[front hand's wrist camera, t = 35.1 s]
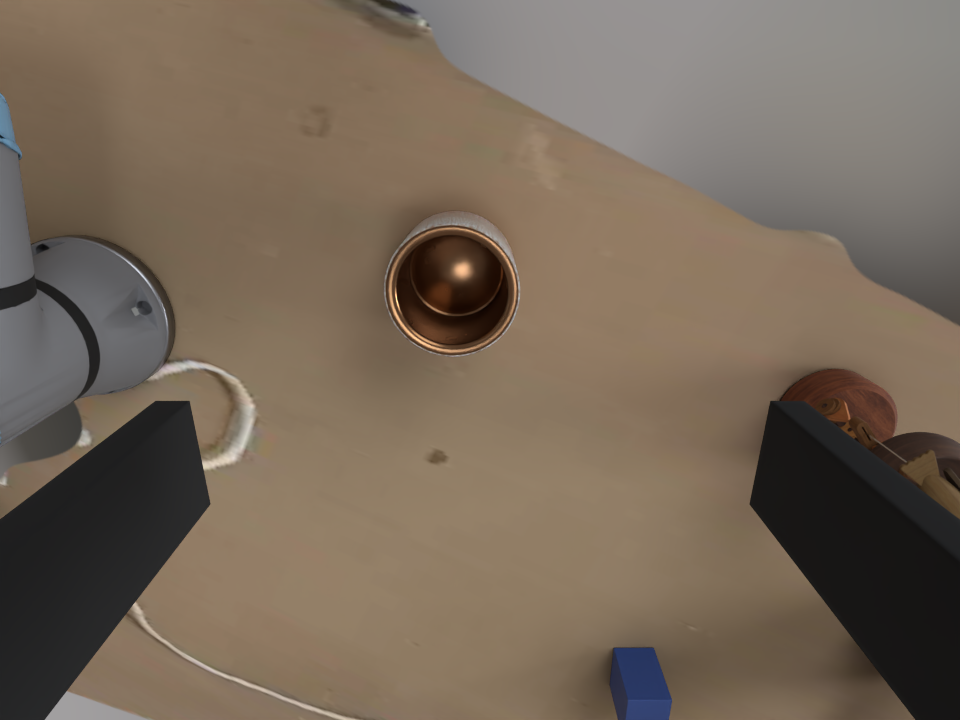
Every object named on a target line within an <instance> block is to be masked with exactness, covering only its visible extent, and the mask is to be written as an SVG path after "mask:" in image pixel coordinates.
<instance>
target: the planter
mask: <svg viewBox="0 0 960 720" xmlns="http://www.w3.org/2000/svg"><path fill="white" fill-rule="evenodd" d="M384 297H385V303H386V307H387V310H388V313H389V315H390V317H391V319H392V321H393V323H394V325H395V326H396V327H397V329H398V330H399V331H400V333H401V334H402V335H403V336H404V337H405V338H406V339H407V340H409V341H410V342H411V343H413V344H414V345H416V346H417V347H419V348H421V349H423V350H425V351H427V352H430V353H433V354H436V355H441V356H451V357H455V356H465V355H470V354H473V353H476V352H479V351H481V350H483V349H485V348H487V347H489V346H491V345H492V344H493V343H495V342H496V341H497V340H498V339H499V338H500V337H501V336H502V335H503V334H504V333H505V332H506V331H507V329H508V328H509V326H510V325H511V323H512V321H513V319H514V317H515V315H516V312H517V309H518V305H519V299H520V282H519V276H518V272H517V269H516V265H515V260H514V256H513V253H512V250H511V247H510V245H509V243H508V241H507V239H506V238H505V236H504V235H503V234H502V232H501V231H500V230H499V229H498V228H497V227H496V226H495V225H494V224H492V223H491V222H490V221H488V220H487V219H485V218H483V217H481V216H479V215H476V214H473V213H470V212H465V211H446V212H441V213H437V214H435V215H432V216H430V217H428V218H426V219H425V220H423V221H422V222H420V223H419V224H418V225H417V226H415V227H414V228H413V230H412V231H411V232H410V233H409V234H408V236H407V237H406V238H405V240H404V241H403V243H402V244H401V245H400V246H399V247H398V249H397V250H396V251H395V253H394V255H393V256H392V258H391V260H390V262H389V265H388V267H387V270H386V275H385V280H384Z"/></svg>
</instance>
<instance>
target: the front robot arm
mask: <svg viewBox="0 0 960 720" xmlns="http://www.w3.org/2000/svg"><path fill="white" fill-rule="evenodd" d="M21 158H22V153H21V151H20V149H19V147H18V145H17V144H16V141H15V136H14V131H13V126H12V121H11V116H10V111H9V107H8V104H7V102H6V100H5V98H4V97H3V95H2V94H1V93H0V447H1V446H3V445H5V444H6V443H8V442H9V441H11V440H13V439H14V438H16V437H17V436H19V435H21V434H22V433H24V432H25V431H27V430H28V429H30V428H32V427H33V426H35V425H36V424H38V423H39V422H41V421H43V420H44V419H46V418H47V417H49V416H51V415H52V414H54V413H55V412H57V411H59V410H60V409H62V408H63V407H65V406H67V405H68V404H70V403H71V402H73V401H75V400H76V399H78V398H83V397H88V396H92V395H102V394H110V393H116V392H120V391H124V390H127V389H130V388H132V387H134V386H136V385H138V384H140V383H141V382H143V381H145V380H146V379H147V378H149V377H150V376H152V375H153V374H154V373H156V372H157V371H158V370H159V369H160V368H161V367H162V366H163V364H164V363H165V362H166V360H167V358H168V356H169V354H170V352H171V350H172V346H173V343H174V337H175V321H174V315H173V311H172V307H171V304H170V301H169V299H168V297H167V295H166V292H165V291H164V289H163V287H162V285H161V284H160V282H159V281H158V280H157V278H156V277H155V276H154V274H153V273H152V272H151V271H150V270H149V269H148V268H147V267H146V266H145V265H144V264H143V263H142V262H141V261H140V260H139V259H137V258H136V257H135V256H133V255H132V254H131V253H129V252H128V251H126V250H124V249H123V248H121V247H119V246H117V245H115V244H113V243H110V242H108V241H105V240H102V239H99V238H95V237H90V236H83V235H66V236H60V237H55V238H50V239H45V240H42V241H38V242H36V243H33V244H31V243H30V236H29V229H28V222H27V215H26V208H25V201H24V194H23V187H22V180H21V173H20V166H19V160H20V159H21ZM209 505H210V500H209V495H208V490H207V485H206V480H205V475H204V470H203V465H202V460H201V455H200V450H199V445H198V441H197V436H196V431H195V426H194V421H193V416H192V411H191V406H190V401H155V402H154V403H152V404H151V405H150V406H148V407H147V408H146V409H144V410H143V411H142V412H140V413H139V414H138V415H137V416H135V417H134V418H133V419H131V420H130V421H129V422H127V423H126V424H125V425H123V426H122V427H121V428H119V429H118V430H117V431H116V432H114V433H113V434H112V435H110V436H109V437H108V438H106V439H105V440H104V441H102V442H101V443H100V444H98V445H97V446H96V447H95V448H93V449H92V450H91V451H89V452H88V453H87V454H85V455H84V456H83V457H81V458H80V459H79V460H77V461H76V462H75V463H74V464H72V465H71V466H70V467H68V468H67V469H66V470H64V471H63V472H62V473H60V474H59V475H58V476H56V477H55V478H54V479H53V480H51V481H50V482H49V483H47V484H46V485H45V486H43V487H42V488H41V489H39V490H38V491H37V492H35V493H34V494H33V495H32V496H30V497H29V498H28V499H26V500H25V501H24V502H22V503H21V504H20V505H18V506H17V507H16V508H14V509H13V510H12V511H11V512H9V513H8V514H7V515H5V516H4V517H3V518H1V519H0V720H45V718H46V717H47V716H48V714H49V713H50V712H51V711H52V709H53V708H54V707H55V705H56V704H57V703H58V702H59V700H60V699H61V698H62V696H63V695H64V694H65V692H66V691H67V690H68V689H69V687H70V686H71V685H72V683H73V682H74V681H75V679H76V678H77V677H78V676H79V674H80V673H81V672H82V670H83V669H84V668H85V666H86V665H87V664H88V663H89V661H90V660H91V659H92V657H93V656H94V655H95V653H96V652H97V651H98V650H99V648H100V647H101V646H102V644H103V643H104V642H105V640H106V639H107V638H108V637H109V635H110V634H111V633H112V631H113V630H114V629H115V627H116V626H117V625H118V624H119V622H120V621H121V620H122V618H123V617H124V616H125V614H126V613H127V612H128V611H129V609H130V608H131V607H132V605H133V604H134V603H135V601H136V600H137V599H138V598H139V596H140V595H141V594H142V592H143V591H144V590H145V588H146V587H147V586H148V585H149V583H150V582H151V581H152V579H153V578H154V577H155V575H156V574H157V573H158V572H159V570H160V569H161V568H162V566H163V565H164V564H165V562H166V561H167V560H168V559H169V557H170V556H171V555H172V553H173V552H174V551H175V550H176V548H177V547H178V546H179V544H180V543H181V542H182V540H183V539H184V538H185V537H186V535H187V534H188V533H189V531H190V530H191V529H192V527H193V526H194V525H195V524H196V522H197V521H198V520H199V518H200V517H201V516H202V514H203V513H204V512H205V511H206V509H207V508H208V507H209ZM750 505H751V507H752V508H753V509H754V511H755V512H756V513H757V514H758V516H759V517H760V518H761V520H762V521H763V522H764V524H765V525H766V526H767V527H768V529H769V530H770V531H771V533H772V534H773V535H774V537H775V538H776V539H777V540H778V542H779V543H780V544H781V546H782V547H783V548H784V550H785V551H786V552H787V553H788V555H789V556H790V557H791V559H792V560H793V561H794V562H795V564H796V565H797V566H798V568H799V569H800V570H801V572H802V573H803V574H804V575H805V577H806V578H807V579H808V581H809V582H810V583H811V585H812V586H813V587H814V588H815V590H816V591H817V592H818V594H819V595H820V596H821V598H822V599H823V600H824V601H825V603H826V604H827V605H828V607H829V608H830V609H831V611H832V612H833V613H834V614H835V616H836V617H837V618H838V620H839V621H840V622H841V624H842V625H843V626H844V627H845V629H846V630H847V631H848V633H849V634H850V635H851V637H852V638H853V639H854V640H855V642H856V643H857V644H858V646H859V647H860V648H861V650H862V651H863V652H864V653H865V655H866V656H867V657H868V659H869V660H870V661H871V663H872V664H873V665H874V666H875V668H876V669H877V670H878V672H879V673H880V674H881V676H882V677H883V678H884V679H885V681H886V682H887V683H888V685H889V686H890V687H891V689H892V690H893V691H894V692H895V694H896V695H897V696H898V698H899V699H900V700H901V702H902V703H903V704H904V705H905V707H906V708H907V709H908V711H909V712H910V713H911V715H912V716H913V717H914V718H915V720H960V519H959V518H957V517H956V516H955V515H953V514H952V513H951V512H949V511H948V510H947V509H946V508H944V507H943V506H942V505H940V504H939V503H938V502H936V501H935V500H934V499H932V498H931V497H930V496H928V495H927V494H926V493H925V492H923V491H922V490H921V489H919V488H918V487H917V486H915V485H914V484H913V483H911V482H910V481H909V480H907V479H906V478H905V477H904V476H902V475H901V474H900V473H898V472H897V471H896V470H894V469H893V468H892V467H890V466H889V465H888V464H886V463H885V462H884V461H883V460H881V459H880V458H879V457H877V456H876V455H875V454H873V453H872V452H871V451H869V450H868V449H867V448H865V447H864V446H863V445H862V444H860V443H859V442H858V441H856V440H855V439H854V438H852V437H851V436H850V435H848V434H847V433H846V432H844V431H843V430H842V429H841V428H839V427H838V426H837V425H835V424H834V423H833V422H831V421H830V420H829V419H827V418H826V417H825V416H823V415H822V414H821V413H820V412H818V411H817V410H816V409H814V408H813V407H812V406H810V405H809V404H808V403H806V402H805V401H770V406H769V411H768V416H767V421H766V426H765V431H764V436H763V441H762V445H761V450H760V455H759V460H758V465H757V470H756V475H755V480H754V485H753V490H752V495H751V500H750Z"/></svg>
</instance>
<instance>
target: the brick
mask: <svg viewBox="0 0 960 720" xmlns="http://www.w3.org/2000/svg"><path fill="white" fill-rule="evenodd" d="M610 688H611V693H612V697H613V701H614V705H615V709H616V713H617V717H618V720H669V715H670V709H671V703H672V699H671V696H670V693H669V690H668V687H667V684H666V682H665V679H664V676H663V673H662V670H661V667H660V665H659V662H658V659H657V656H656V653H655V650H654V648H614V651H613V660H612V669H611V678H610Z"/></svg>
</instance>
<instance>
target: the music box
mask: <svg viewBox="0 0 960 720" xmlns="http://www.w3.org/2000/svg"><path fill="white" fill-rule="evenodd" d="M781 401H805V402H806V403H808V404H809V405H810V406H812V407H813V408H814V409H816V410H817V411H818V412H820V413H821V414H822V415H823V416H825V417H826V418H827V419H829V420H830V421H831V422H833V423H834V424H835V425H837V426H838V427H839V428H841V429H842V430H843V431H844V432H846V433H847V434H848V435H850V436H851V437H852V438H854V439H855V440H856V441H858V442H859V443H860V444H862V445H863V446H864V447H865V448H867V449H868V450H869V451H871V452H872V453H873V454H875V455H876V456H877V457H879V458H880V459H881V460H883V461H884V462H885V463H886V464H888V465H889V466H890V467H892V468H893V469H894V470H896V471H897V472H898V473H900V474H901V475H902V476H904V477H905V478H906V479H907V480H909V481H910V482H911V483H913V484H914V485H915V486H917V487H918V488H919V489H921V490H922V491H923V492H925V493H926V494H927V495H928V496H930V497H931V498H932V499H934V500H935V501H936V502H938V503H939V504H940V505H942V506H943V507H944V508H946V509H947V510H948V511H949V512H951V513H952V514H953V515H955V516H956V517H957V518H959V519H960V444H959V443H958V442H956V441H954V440H952V439H950V438H948V437H945V436H942V435H939V434H934V433H927V432H914V433H906V434H902V435H898V436H895V437H893V435H894V433H895V430H896V426H897V409H896V405H895V403H894V401H893V399H892V397H891V396H890V395H889V394H888V393H887V392H886V391H885V390H884V389H883V388H881V387H879V386H878V385H876V384H874V383H873V382H871V381H869V380H867V379H866V378H864V377H862V376H861V375H859V374H857V373H855V372H852V371H848V370H843V369H829V370H823V371H819V372H816V373H813V374H811V375H809V376H807V377H805V378H803V379H802V380H800V381H799V382H797V383H796V384H795V385H794V386H792V387H791V388H790V389H789V390H788V391H787V393H786V394H785V395H784V396H783V398H782V399H781Z"/></svg>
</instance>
